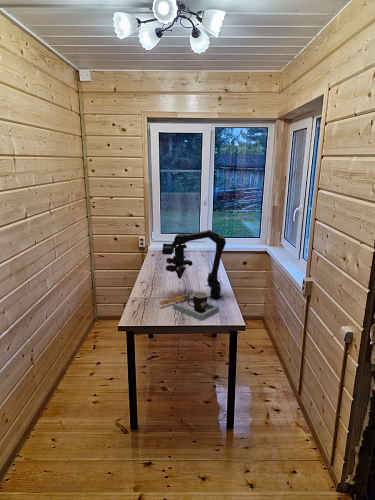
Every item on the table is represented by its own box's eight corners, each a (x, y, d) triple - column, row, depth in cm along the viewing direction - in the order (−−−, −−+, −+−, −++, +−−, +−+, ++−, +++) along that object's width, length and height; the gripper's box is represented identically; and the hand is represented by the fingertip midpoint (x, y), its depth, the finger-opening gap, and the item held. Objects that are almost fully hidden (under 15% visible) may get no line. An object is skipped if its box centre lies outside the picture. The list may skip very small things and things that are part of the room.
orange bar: (187, 296, 200) (187, 293, 200) (190, 298, 198) (190, 294, 197) (159, 304, 189) (159, 301, 188) (161, 306, 186) (161, 302, 186)
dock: (186, 298, 201) (186, 293, 200) (219, 310, 184) (219, 306, 183) (168, 306, 190) (168, 301, 189) (201, 320, 173) (201, 315, 172)
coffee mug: (206, 307, 189) (207, 291, 186) (208, 314, 180) (208, 297, 178) (187, 307, 188) (187, 291, 186) (187, 314, 180) (187, 297, 177)
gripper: (180, 249, 209) (180, 272, 213) (159, 255, 196) (159, 279, 200) (193, 252, 202) (193, 275, 206) (172, 258, 188) (172, 283, 192)
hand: (179, 278), depth 201 cm, fingers closed
